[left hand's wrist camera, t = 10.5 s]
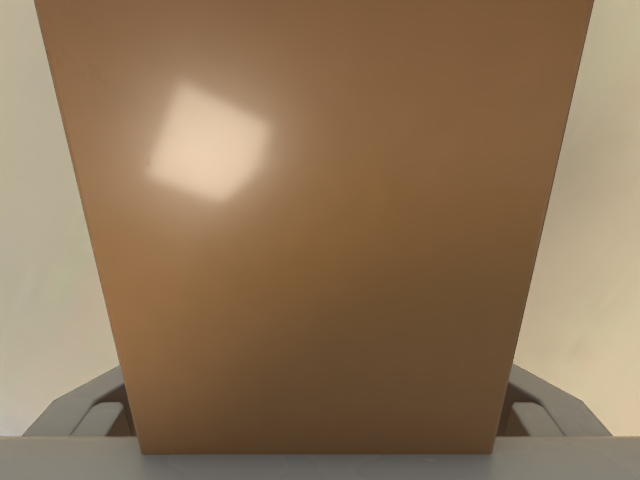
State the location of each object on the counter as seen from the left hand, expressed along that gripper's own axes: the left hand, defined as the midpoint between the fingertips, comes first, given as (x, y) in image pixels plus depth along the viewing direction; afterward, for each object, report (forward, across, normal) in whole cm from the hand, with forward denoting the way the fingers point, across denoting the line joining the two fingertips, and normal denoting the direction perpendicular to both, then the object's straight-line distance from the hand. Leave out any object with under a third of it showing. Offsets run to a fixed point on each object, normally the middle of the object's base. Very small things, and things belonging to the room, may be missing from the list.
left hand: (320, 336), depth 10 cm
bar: (+3, 0, +9) cm, 9 cm away
